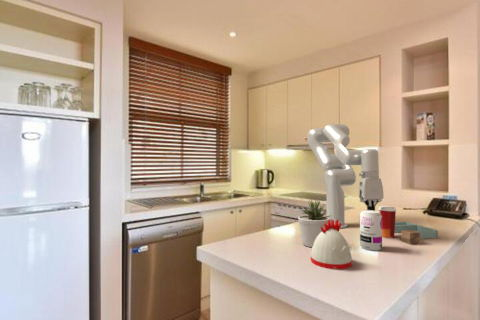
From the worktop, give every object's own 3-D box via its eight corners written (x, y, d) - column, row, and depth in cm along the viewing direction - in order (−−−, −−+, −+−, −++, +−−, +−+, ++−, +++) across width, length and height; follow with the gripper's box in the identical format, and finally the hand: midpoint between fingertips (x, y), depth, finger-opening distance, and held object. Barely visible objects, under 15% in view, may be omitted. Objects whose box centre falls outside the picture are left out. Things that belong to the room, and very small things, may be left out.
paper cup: (392, 234, 136) (392, 205, 136) (399, 238, 128) (399, 208, 128) (375, 234, 136) (375, 205, 137) (382, 238, 129) (381, 208, 129)
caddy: (409, 239, 127) (409, 231, 127) (381, 229, 146) (381, 222, 146) (437, 237, 130) (437, 230, 130) (406, 228, 149) (406, 221, 149)
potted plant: (336, 249, 113) (336, 199, 113) (303, 249, 112) (302, 200, 112) (324, 240, 125) (324, 196, 126) (294, 241, 125) (294, 196, 125)
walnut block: (410, 244, 119) (409, 233, 119) (401, 241, 124) (401, 230, 124) (420, 244, 120) (420, 232, 120) (411, 241, 125) (411, 229, 125)
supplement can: (380, 246, 117) (380, 210, 117) (383, 252, 109) (383, 213, 109) (359, 244, 120) (359, 209, 120) (361, 250, 112) (360, 212, 112)
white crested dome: (360, 266, 94) (360, 222, 94) (325, 271, 90) (325, 225, 90) (335, 254, 107) (335, 215, 107) (303, 257, 103) (303, 217, 103)
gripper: (360, 175, 126) (361, 216, 125) (389, 175, 128) (391, 215, 128) (351, 175, 133) (352, 214, 133) (379, 175, 136) (380, 212, 135)
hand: (371, 214), depth 130 cm, fingers closed
